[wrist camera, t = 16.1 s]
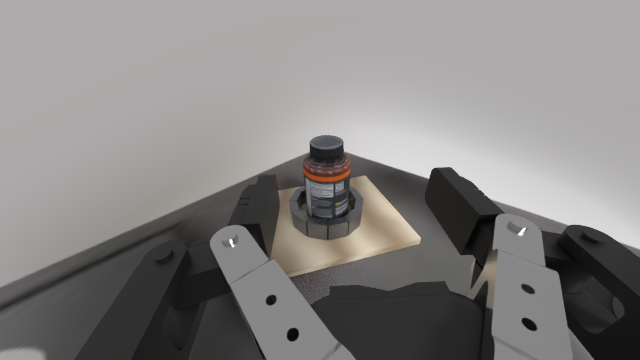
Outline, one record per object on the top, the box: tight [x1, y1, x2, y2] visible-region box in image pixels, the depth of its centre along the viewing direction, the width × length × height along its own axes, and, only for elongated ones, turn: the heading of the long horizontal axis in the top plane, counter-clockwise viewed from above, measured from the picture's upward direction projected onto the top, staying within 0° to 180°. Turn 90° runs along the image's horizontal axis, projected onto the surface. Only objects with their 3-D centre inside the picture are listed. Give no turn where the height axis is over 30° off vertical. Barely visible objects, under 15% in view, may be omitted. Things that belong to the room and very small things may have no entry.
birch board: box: [270, 176, 421, 278], centre depth 33 cm, size 20×16×1 cm
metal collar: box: [289, 185, 363, 241], centre depth 32 cm, size 10×10×2 cm
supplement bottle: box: [303, 135, 350, 220], centre depth 29 cm, size 6×6×11 cm
